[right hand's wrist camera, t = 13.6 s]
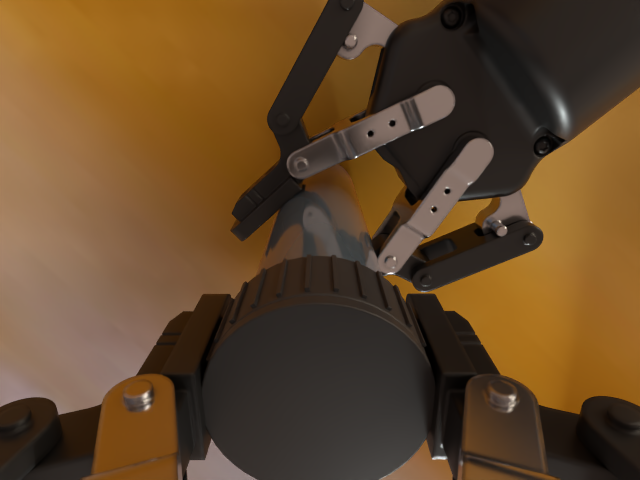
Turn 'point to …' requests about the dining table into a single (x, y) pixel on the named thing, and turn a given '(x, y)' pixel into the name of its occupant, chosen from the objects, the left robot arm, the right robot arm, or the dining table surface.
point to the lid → (318, 374)
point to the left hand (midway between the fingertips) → (277, 265)
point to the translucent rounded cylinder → (321, 223)
